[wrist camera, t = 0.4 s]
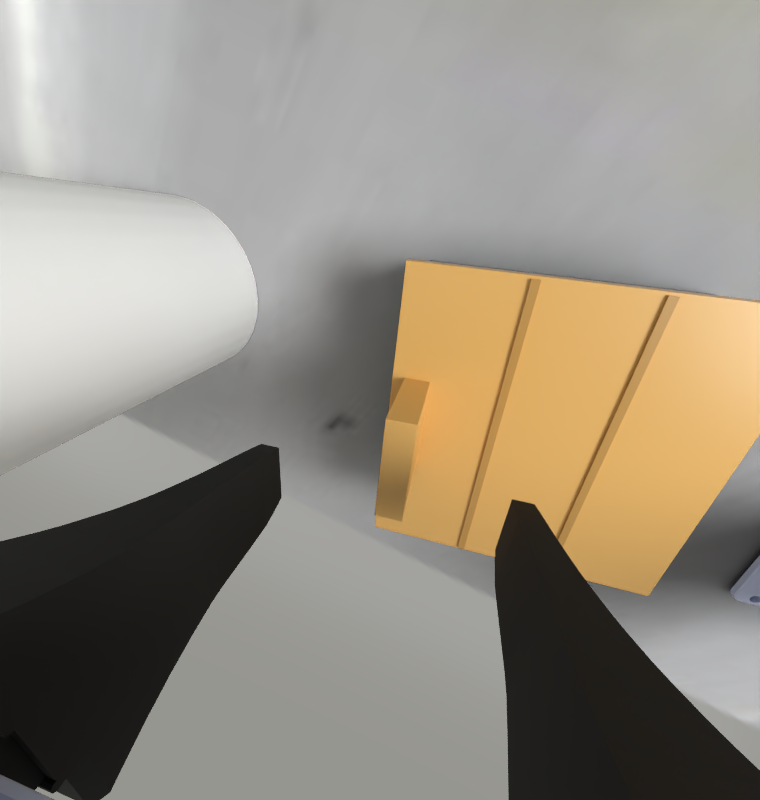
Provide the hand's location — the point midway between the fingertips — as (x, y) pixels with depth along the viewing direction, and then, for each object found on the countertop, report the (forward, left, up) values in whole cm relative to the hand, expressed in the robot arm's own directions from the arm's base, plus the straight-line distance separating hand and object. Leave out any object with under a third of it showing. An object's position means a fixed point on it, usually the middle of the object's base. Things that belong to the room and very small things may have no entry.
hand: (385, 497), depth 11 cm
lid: (-5, 0, -5) cm, 8 cm away
